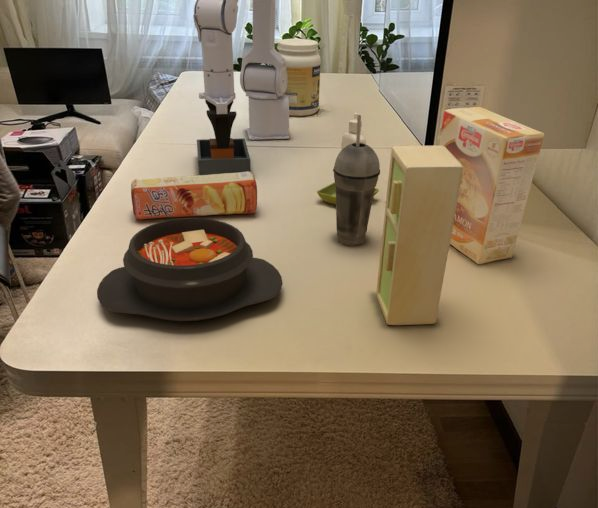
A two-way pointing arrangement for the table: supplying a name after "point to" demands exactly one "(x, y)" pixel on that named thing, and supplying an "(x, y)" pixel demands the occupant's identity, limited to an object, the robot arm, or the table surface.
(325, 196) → the saucer
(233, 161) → the bin
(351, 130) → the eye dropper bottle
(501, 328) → the table surface
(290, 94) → the supplement tub
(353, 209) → the beverage cup
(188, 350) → the table surface
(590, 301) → the table surface
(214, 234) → the casserole
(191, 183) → the snack package
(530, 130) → the coffeecake box
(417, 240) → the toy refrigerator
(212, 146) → the orange rectangular block
